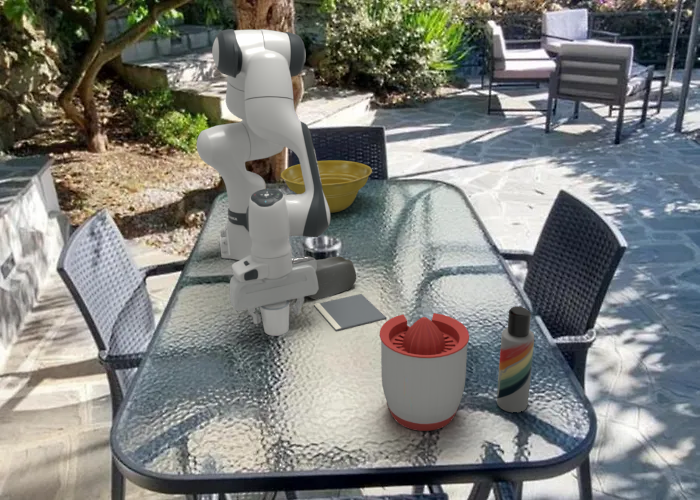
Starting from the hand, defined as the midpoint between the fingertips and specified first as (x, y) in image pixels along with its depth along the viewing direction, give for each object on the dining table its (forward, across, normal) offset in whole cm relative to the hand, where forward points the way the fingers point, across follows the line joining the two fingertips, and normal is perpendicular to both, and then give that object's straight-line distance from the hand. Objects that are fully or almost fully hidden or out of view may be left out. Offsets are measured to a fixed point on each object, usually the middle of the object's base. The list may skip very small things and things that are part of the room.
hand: (277, 318), depth 147 cm
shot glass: (+3, 0, 0) cm, 3 cm away
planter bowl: (+3, -44, -76) cm, 88 cm away
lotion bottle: (+4, -30, +47) cm, 56 cm away
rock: (+3, -17, -16) cm, 24 cm away
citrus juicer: (+4, -15, +41) cm, 43 cm away
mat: (+3, -18, 0) cm, 19 cm away
